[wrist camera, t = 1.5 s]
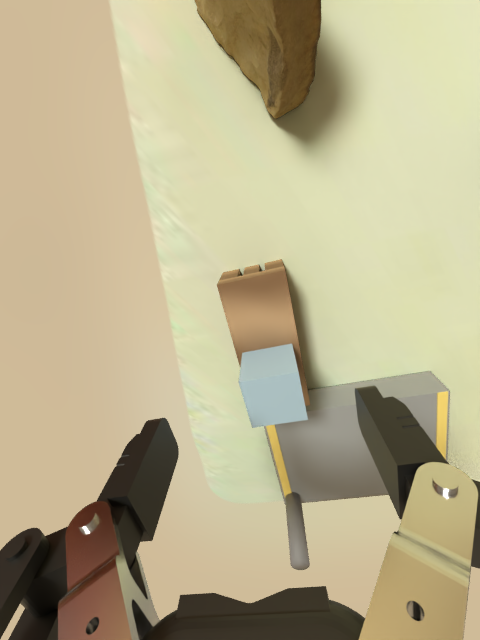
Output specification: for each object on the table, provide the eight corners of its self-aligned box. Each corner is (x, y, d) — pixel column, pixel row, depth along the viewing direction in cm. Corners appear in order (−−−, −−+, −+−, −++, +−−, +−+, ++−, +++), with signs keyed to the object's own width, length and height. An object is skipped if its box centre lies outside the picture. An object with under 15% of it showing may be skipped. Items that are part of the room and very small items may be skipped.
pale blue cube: (242, 352, 23) (238, 382, 19) (292, 343, 22) (298, 372, 18) (253, 393, 24) (252, 427, 20) (300, 385, 23) (307, 419, 20)
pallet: (223, 272, 24) (216, 285, 21) (281, 258, 23) (285, 269, 20) (254, 386, 29) (253, 413, 25) (303, 378, 28) (310, 405, 24)
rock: (356, 110, 17) (393, -177, 12) (276, 99, 12) (283, -431, 7) (226, 127, 24) (215, -58, 18) (135, 125, 18) (83, -139, 13)
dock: (430, 370, 26) (507, 449, 18) (429, 463, 31) (491, 560, 22) (261, 397, 29) (262, 476, 20) (283, 479, 33) (290, 572, 25)
